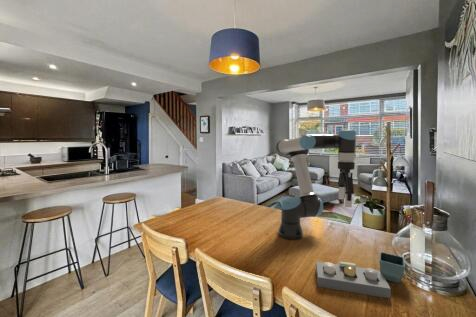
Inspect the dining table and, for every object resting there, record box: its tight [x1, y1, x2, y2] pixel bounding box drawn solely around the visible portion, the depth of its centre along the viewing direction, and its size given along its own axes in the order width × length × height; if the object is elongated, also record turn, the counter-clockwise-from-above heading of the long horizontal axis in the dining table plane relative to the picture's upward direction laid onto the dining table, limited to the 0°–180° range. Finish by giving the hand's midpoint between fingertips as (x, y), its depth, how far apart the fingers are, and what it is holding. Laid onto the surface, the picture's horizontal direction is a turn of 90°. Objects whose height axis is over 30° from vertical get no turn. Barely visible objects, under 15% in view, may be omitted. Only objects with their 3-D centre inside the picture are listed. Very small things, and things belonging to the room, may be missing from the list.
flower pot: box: [379, 251, 406, 284], centre depth 94 cm, size 9×9×9 cm
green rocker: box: [339, 261, 357, 268], centre depth 96 cm, size 6×3×2 cm, turn 74°
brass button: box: [344, 265, 356, 278], centre depth 91 cm, size 4×4×5 cm
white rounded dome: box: [365, 267, 378, 281], centre depth 89 cm, size 4×4×5 cm
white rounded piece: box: [324, 261, 335, 275], centre depth 94 cm, size 4×4×5 cm
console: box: [315, 261, 392, 299], centre depth 92 cm, size 26×12×4 cm, turn 74°
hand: (344, 202), depth 109 cm, fingers open, 13 cm apart
